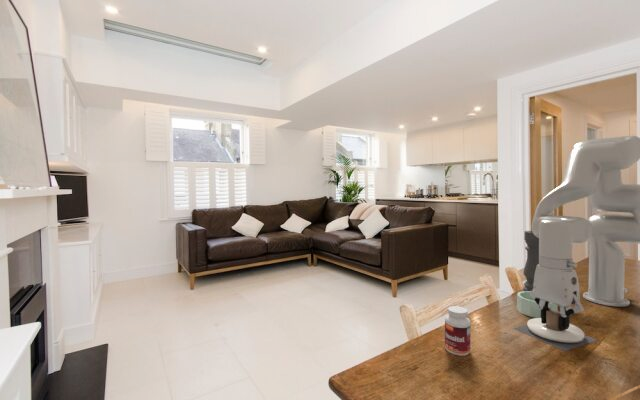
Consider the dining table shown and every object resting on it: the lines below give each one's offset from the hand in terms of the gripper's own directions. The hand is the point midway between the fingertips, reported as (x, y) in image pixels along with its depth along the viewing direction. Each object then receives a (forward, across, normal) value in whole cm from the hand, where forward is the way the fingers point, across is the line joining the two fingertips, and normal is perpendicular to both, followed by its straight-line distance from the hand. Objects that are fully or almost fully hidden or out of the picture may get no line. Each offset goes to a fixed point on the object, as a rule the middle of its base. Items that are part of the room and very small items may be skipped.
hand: (554, 325), depth 90 cm
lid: (+2, 0, 0) cm, 2 cm away
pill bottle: (+3, +5, +31) cm, 32 cm away
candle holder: (+3, +22, -24) cm, 32 cm away
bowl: (+3, +12, -11) cm, 16 cm away
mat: (+3, 0, 0) cm, 3 cm away
